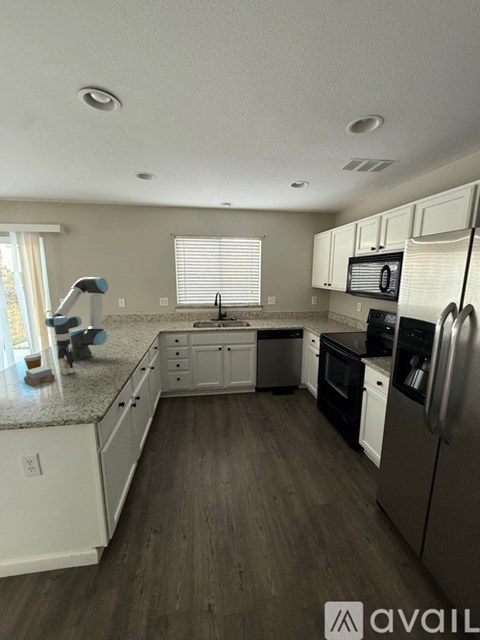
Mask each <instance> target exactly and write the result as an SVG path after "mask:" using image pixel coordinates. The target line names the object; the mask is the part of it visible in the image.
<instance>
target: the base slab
mask: <svg viewBox="0 0 480 640" xmlns="http://www.w3.org/2000/svg"><path fill="white" fill-rule="evenodd" d="M23 380H24V384H25V383H26V385H27V384H28V385H29V386H31V387H35V386H39V385H41V384H45V383H48V381H49V382H51V381H54V380H56V378H55V374H54V373H52V375H49V376H45V377H42V378H39V379H35V380H33V379H31V378H28V377H26V376H23Z"/></svg>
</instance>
